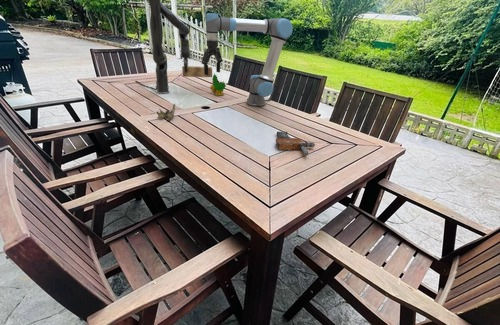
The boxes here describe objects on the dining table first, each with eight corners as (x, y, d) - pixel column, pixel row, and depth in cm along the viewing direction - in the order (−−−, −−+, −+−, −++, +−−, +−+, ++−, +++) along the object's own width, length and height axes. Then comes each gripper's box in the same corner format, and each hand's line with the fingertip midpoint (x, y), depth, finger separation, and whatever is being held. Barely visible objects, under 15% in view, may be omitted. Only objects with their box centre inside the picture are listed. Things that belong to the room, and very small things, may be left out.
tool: (272, 130, 160) (281, 150, 133) (314, 131, 162) (332, 151, 136) (271, 136, 161) (280, 157, 135) (313, 137, 164) (330, 158, 138)
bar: (182, 76, 233) (182, 67, 229) (183, 75, 238) (182, 65, 234) (212, 77, 237) (212, 68, 233) (212, 76, 242) (211, 66, 238)
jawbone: (182, 108, 180) (175, 98, 171) (172, 126, 173) (165, 116, 165) (170, 106, 182) (164, 96, 174) (161, 124, 176) (153, 114, 168)
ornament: (225, 100, 236) (233, 86, 230) (219, 99, 230) (226, 84, 223) (213, 88, 246) (220, 74, 239) (206, 87, 239) (213, 72, 232)
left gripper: (181, 50, 232) (182, 70, 240) (180, 52, 219) (181, 73, 228) (190, 50, 233) (191, 70, 241) (189, 52, 221) (190, 73, 229)
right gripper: (204, 41, 161) (205, 76, 172) (227, 40, 180) (227, 71, 191) (195, 40, 164) (196, 75, 175) (218, 39, 183) (218, 70, 194)
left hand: (186, 71), depth 234 cm, fingers closed on bar, 5 cm apart
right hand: (212, 73), depth 183 cm, fingers open, 13 cm apart
